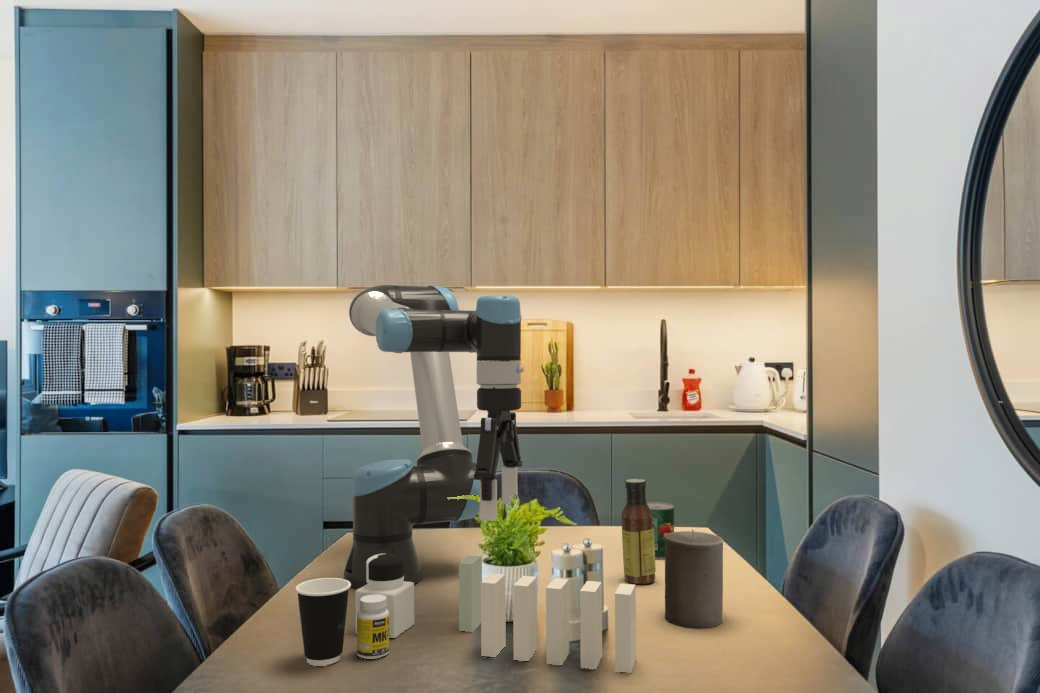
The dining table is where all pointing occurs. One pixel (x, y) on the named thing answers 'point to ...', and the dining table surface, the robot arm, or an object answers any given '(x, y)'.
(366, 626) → the supplement bottle
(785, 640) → the dining table surface
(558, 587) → the domino
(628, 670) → the domino
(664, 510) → the canned tomato
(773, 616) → the dining table surface
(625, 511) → the sauce bottle
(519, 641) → the domino
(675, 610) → the pillar candle
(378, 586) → the white bottle
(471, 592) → the grey-green tall block
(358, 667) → the dining table surface
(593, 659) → the domino
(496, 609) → the domino
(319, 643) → the dixie cup
